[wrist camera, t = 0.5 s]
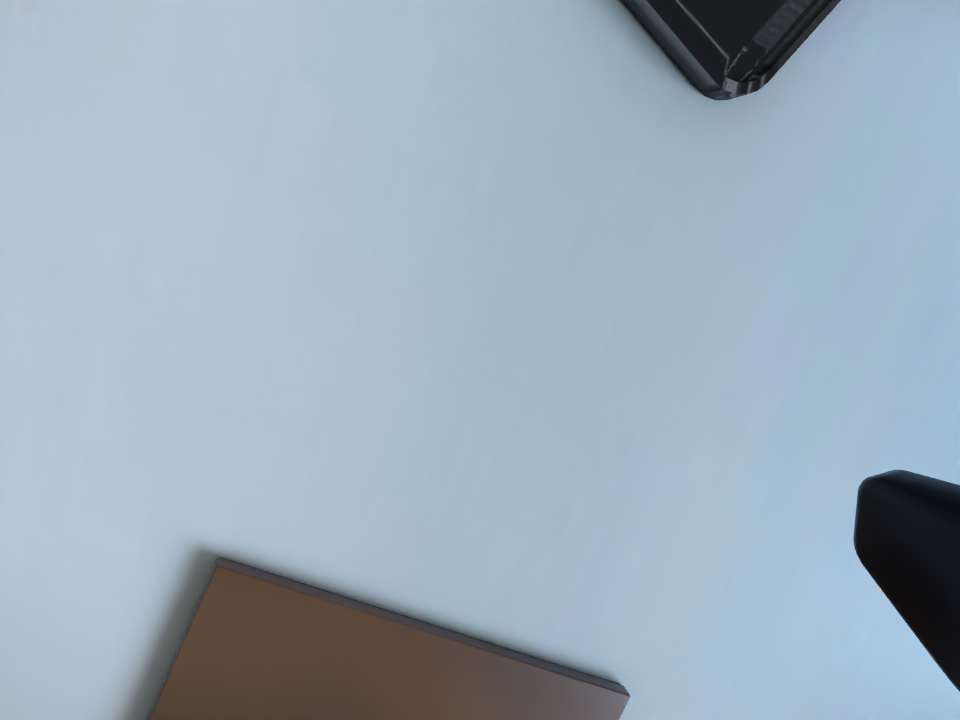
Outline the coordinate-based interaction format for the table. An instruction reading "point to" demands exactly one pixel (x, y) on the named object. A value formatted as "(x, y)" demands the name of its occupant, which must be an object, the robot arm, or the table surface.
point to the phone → (730, 38)
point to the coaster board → (353, 663)
